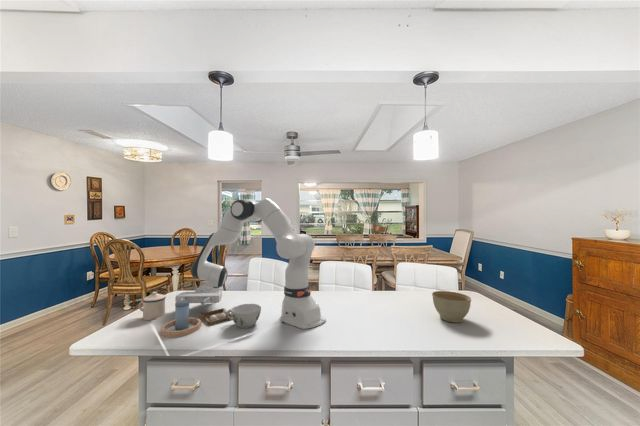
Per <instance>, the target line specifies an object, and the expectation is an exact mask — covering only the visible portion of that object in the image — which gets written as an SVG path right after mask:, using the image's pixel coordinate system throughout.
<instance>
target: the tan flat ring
mask: <svg viewBox="0 0 640 426" xmlns="http://www.w3.org/2000/svg"><path fill="white" fill-rule="evenodd" d="M191 323H192V324H196V325H193V326H191V327H189V328H188V329H184V330H179V331H175V330H168V329H169V328H171V327H174V326H175V319H173V320H170V321H168V322H166V323H164V324H163V325H162V326H161V327H160V333H161V335H162V336H163V337H166V338H175V337H177V338H178V337H184V336H187V335H190V334H193V333H195V332H196V331H198V330H200V328H201V326H202V319H200V317H199V318H198V317H193V316H191V317H190V316H189V324H191Z"/></svg>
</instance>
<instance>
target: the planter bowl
mask: <svg viewBox="0 0 640 426" xmlns="http://www.w3.org/2000/svg"><path fill="white" fill-rule="evenodd" d="M431 294H432V295H431V296H432V302H433V305H434V308H435V311H437V313H438V315H439V318H440V319H442V320H443V321H446V322H451V323H462V322H463V321H464V318H465V317H466V316H467V315H468V313H469V311H470V309H471V302H472V297H470V296H469V295H467V294H463V293H460V292H457V291H447V290H436V291H433V292H431Z"/></svg>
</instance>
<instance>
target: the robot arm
mask: <svg viewBox="0 0 640 426" xmlns="http://www.w3.org/2000/svg"><path fill="white" fill-rule="evenodd" d="M223 215H224V216H223V218H222V219H221V222H220V224H219V228H218V229H217V230H216V232H213V233H211V234H210V235H209V237H208V238H207V240H206V241H205V243H204V245H203V246H202V249H201V250H200V252H199V254H198V256H197V257H196V258H195V261H194V262H193V264H192V266H190V270H189V272H190V275H191V277H192V278H193V279H198V280H202V281H205V283H203V284H202V285H200V286H198V287H197V288H196V289H195V290H194V291H183V292H181V293H179V294H177V295H175V303H176V302H178V301H183V300H188V301H189V304H200V305H206V304H218V303H220V302H221V300H222V297H223V291H222V290H223V288H222V287H223V286H224V285H225V283H226V281H227V278H228V270H227V267H226V266H222V265H220V264H216V263H214V262H210V261H208V257H209V255H210V254H211V251H212V250H213V249H214V248H215V246H226V245H232V244H234V243H236V242H237V241H238V239H239V237H240V235H241V232H242V228H243V226H244V224H245V223H246V222H248V223H259V222H263V223H264V225H265V226H266V228H267V229H268V230H269V231H270V232H271V234H272V236H273V237H274V239H275V242H276V245H275V248H276V253H277V255H278V256H279V257H280V258H281V259H286V260H288V264H287V266H286V268H285V269H284V270H285V271H284V275H285V276H284V281H285V282H284V287H283V295H284V297H283V299H282V303H281V304H282V305H281V315H280V317H279V320H280V321H282V322H283V323H284V324H287V325H291V326H293V327H295V328H299V329H302V330H307V329H311V328H312V329H313V328H315V327H318V326H320V325H323V324H325V323H326V321H327V318H326V317H325V316H323V315H322V314H321V313H322V312H321V308H320V306H319V303H318V302H317V301H316V300H315V299H314V298H313V296H312V295H311V293H312V292H313V291H312V289H310V286H309V268H310V261H311V257H312V253H313V251H314V248H315V246H316V243H315V239H314V238H313V237H312V236H311V235H309V234H307V233H306V234H305V233H296V232H295V230H294V228H293V226H292V223H293V222H292V221H291V219H290V218H289V217H288V215H286V212H284V211H283V209H282V208H281V207H280V206H279V205H278V204H277V203H276V202H274V201H273V200H272V199H271V198H268V197H267V198H265V197H264V198H263V199H260V200H259V201H258V202H256V201H253V200H248V199H243V198H242V199H236V200H235V201H233V202H232V204H231V205H230V208H229V209H227V210H226V211H225V214H223Z"/></svg>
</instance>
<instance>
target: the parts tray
mask: <svg viewBox="0 0 640 426" xmlns="http://www.w3.org/2000/svg"><path fill="white" fill-rule="evenodd" d="M224 310H226V309H225V308H217V309H215V310H211V311H206V312H201V313H199V319H200V318H201V320H202V321H204V322H205V324H207V325H208V326H213V325H217V324H221V323H224V322H225V323H226V322H229V321H231V320H230V319H229V318H228V316H227V317H225V318H221V319H219V315H220V314H221V313H222V312H223V311H224ZM212 315H215V316H216V317H217V320H213V321H210V320H209V319H210V317H211V316H212ZM229 316H230V317H231V318H232V315H231V312H230V313H229Z"/></svg>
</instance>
